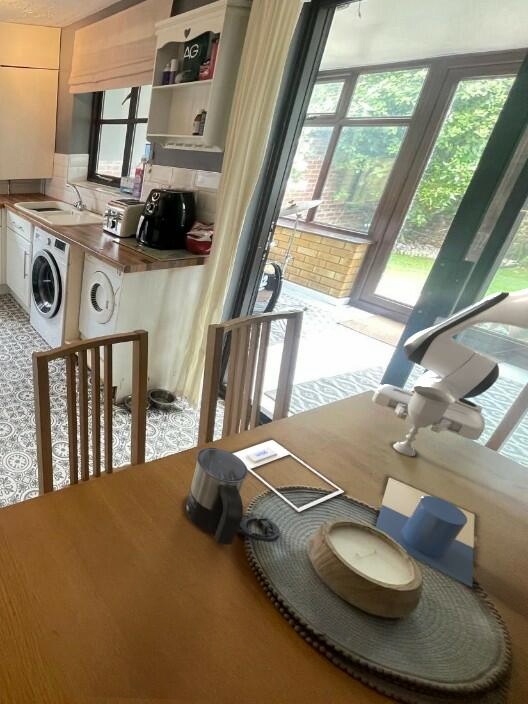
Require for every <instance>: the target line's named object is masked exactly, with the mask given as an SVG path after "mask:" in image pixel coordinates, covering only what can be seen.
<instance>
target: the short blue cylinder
mask: <svg viewBox="0 0 528 704" xmlns="http://www.w3.org/2000/svg"><path fill="white" fill-rule="evenodd" d="M457 507H458V506H456V505H455V504H453V503H451V502H449V501H448V500H445V499H443V498H440V497H437V496H433V495H431V496H424V497H422V498H421V499H420V501H419V502H418V504H417V506H416V507H415V509H414V511H413V512H412V514H411V516H410V518H409V519H408V521H407V523H406V524H405V526H404V528H403V529H402V536H403V538H404V539H405V541H406V542H407V543H408V544H409V545H411V546H412V547H413V548H415V549H416V550H418V551H420V552H421V553H424V554H426V555H429V556H432V557H442V556H444V555H445V554H446V552H447V551H448V549H449V548H450V546H451V545H452V543H453V542H454V540H456V537H457V536H458V535H459V533H460V532H461V530H462V529H463V527H464V526H465V524H466V523H467V517H466V515H465V514H464V513H463V512H462V511H461V510H460V509H459V508H460V507H458V508H457Z"/></svg>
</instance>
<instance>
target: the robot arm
mask: <svg viewBox="0 0 528 704" xmlns="http://www.w3.org/2000/svg"><path fill="white" fill-rule="evenodd" d="M484 323H485V324H486V323H488V324H489V323H490V324H500V325H506V326H511V327H515V328H516V327H517V328H520V329H524V330H526V331H527V330H528V288H525V289H521V290H518V291H514V292H513V291H512V292H507V291H506V292H504V291H499V292H496V293H493V294H490V295H488V296H486V297H483V298H482V299H480V300H478V301H476V302H474V303H472V304H470V305H469V306H467V307H465V308H463V309H461V310H459V311H457V312H455V313H454V314H452V315H450V316H448V317H447V318H445V319H443V320H441V321H439V322H437V323H436V324H433V325H431V326H429V327H427V328H425V329H423V330H420V331H418V332H416V333H414V334H413V335H412V336H410V337H408V339H406V341H405V342H404V344H403V346H402V349H403V353H404V356H405V358H406V360H408V361H410V362H412V363H414V364H416V365H418V366H421V367H423V368H424V369H426V370H428V371H426V372H424V373H423V374H422V375H420V376H419V377H418V378H417V380H415V382H414V383H413V386H412V387H411V389H410V390H407V389H404V388H402V387H399V386H396V385H393V384H388V383H387V384H379V385H378V386H377V388H376V390H375V392H374V394H373V396H372V399H371V400H372V402H373V403H374V404H376V405H379V406H382V407H384V408H386V409H390V410H392V411H394V412H395V414H397V418H399V419H401V420H403V421H405V420H406V418H407V417H409V414H408V404H409V402H410V400H411V399H412V397H413V395H414V387H415V386H427V387H432V388H435V389H438V390H441V391H444V392H446V393H448V394H450V395H451V396H452V397H454V398H455V402H453V403H451V404H449V406H448V408H447V410H446V411H445V413H444V415H443V417H442V418H441V419H439V420H438V421H436V422H435V423H433V424H431V425H432V426H431V425H430V426H431V428H430V431H432V432H435V433H436V434H439V433H440V432H446V431H447V432H450V433H453V434H455V435H458V436H460V437H463V438H466V439H468V440H471V441H478V440H479V439H480V437H481V436H482V434H483V432H484V431H485V427H486V421H485V417H484V415H482V412H483V408H482V406H480V405H479V404H476V403H474V402H472V401H469V400H468V399H472V398H476V397H478V396H480V395H481V394H483V393H485V392H486V391H488V390H489V389H490V388H491V387H493V385H494V384H495V383H496V381H498V379H499V377H500V368H499V367H500V366H499V365H498V363H497V362H495V361H494V360H492V359H490V358H489V357H487V356H485V355H484V354H482V353H480V352H479V351H476V350H474V349H473V348H471V347H468V345H465V344H463V343H462V342H459V341H458V340H456V339H454V338H453V337H455V336H456V335H457V334H461V333H462V332H464V331H466V330H468V329H470V328H471V327H473V326H476V325H478V324H479V325H480V324H484Z"/></svg>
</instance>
